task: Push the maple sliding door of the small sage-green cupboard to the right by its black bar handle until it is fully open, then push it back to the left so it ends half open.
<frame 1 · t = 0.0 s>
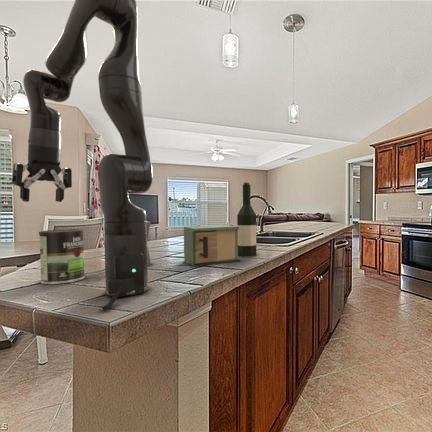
hand: (42, 201, 94), 22 cm above the table, tool pointing down, fingers open, 8 cm apart
sliding door: (209, 247, 110), point 6 cm above the table, slide at 0.0 cm
coffee can: (63, 280, 91), on the table
coffeepot: (136, 265, 113), on the table
wine bottle: (247, 255, 134), on the table
cupboard: (211, 261, 119), on the table
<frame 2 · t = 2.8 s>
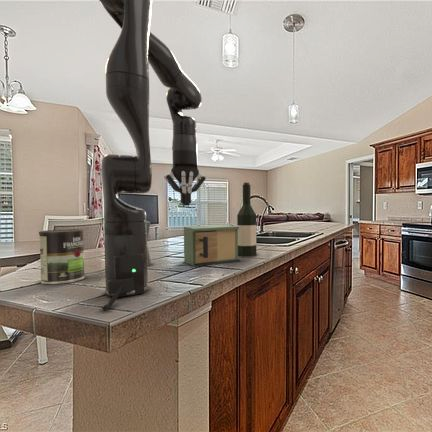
hand: (186, 205, 102), 21 cm above the table, tool pointing down, fingers closed
nothing on the table moved.
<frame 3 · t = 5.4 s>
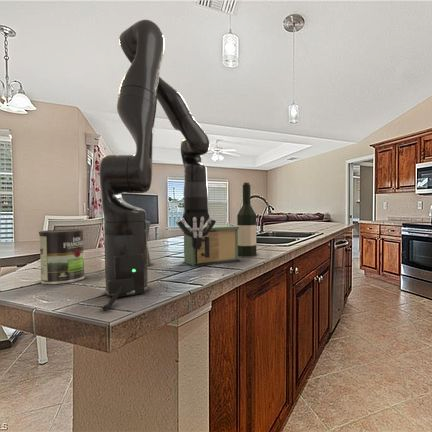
hand: (196, 249, 105), 7 cm above the table, tool pointing down, fingers closed
sliding door: (210, 247, 110), point 6 cm above the table, slide at 0.6 cm, touching gripper
everything else where it was.
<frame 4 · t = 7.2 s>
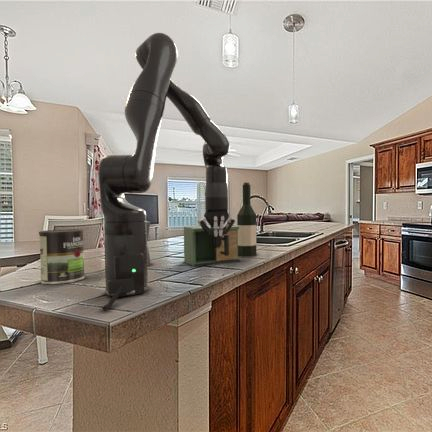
hand: (217, 247, 109), 7 cm above the table, tool pointing down, fingers closed
sliding door: (229, 246, 114), point 6 cm above the table, slide at 7.5 cm, touching gripper
everything else where it was.
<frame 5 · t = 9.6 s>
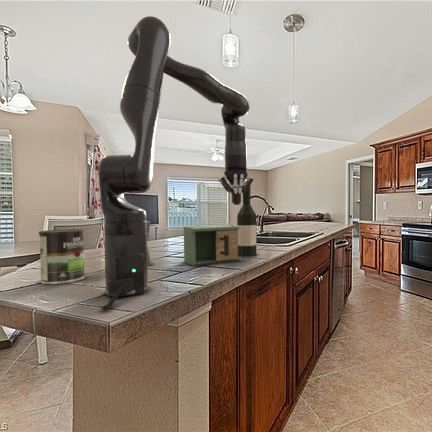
hand: (236, 204, 113), 21 cm above the table, tool pointing down, fingers closed
sliding door: (229, 246, 114), point 6 cm above the table, slide at 7.5 cm
everything else where it was.
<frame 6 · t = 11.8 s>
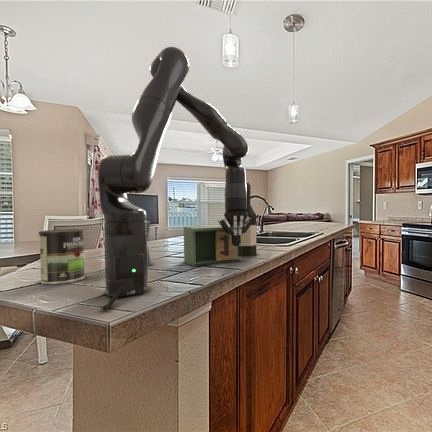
hand: (236, 245, 113), 7 cm above the table, tool pointing down, fingers closed
sliding door: (229, 246, 114), point 6 cm above the table, slide at 7.5 cm, touching gripper
everything else where it was.
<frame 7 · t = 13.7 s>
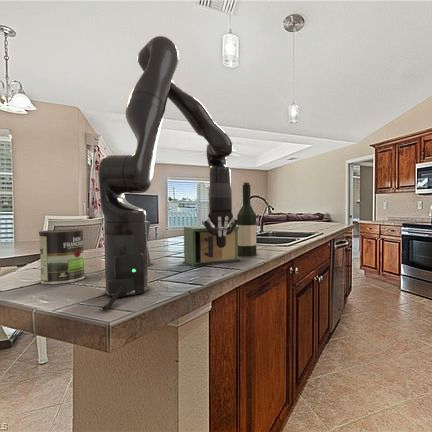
hand: (221, 247, 110), 7 cm above the table, tool pointing down, fingers closed
sliding door: (214, 247, 111), point 6 cm above the table, slide at 1.8 cm, touching gripper
everything else where it was.
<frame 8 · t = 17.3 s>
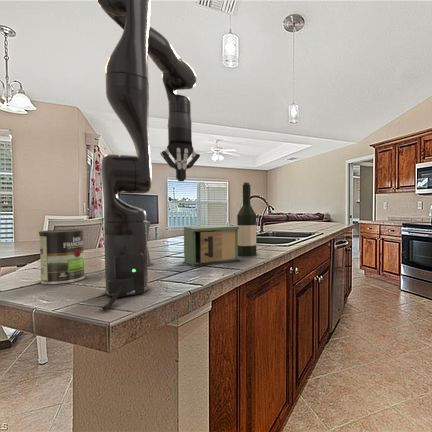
hand: (181, 181, 107), 29 cm above the table, tool pointing down, fingers closed
sliding door: (214, 247, 111), point 6 cm above the table, slide at 1.8 cm
everything else where it was.
at the end: sliding door pulled out 7.6 cm at the most during the clip, back to 1.8 cm at the end; sliding door slide at 1.8 cm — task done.
